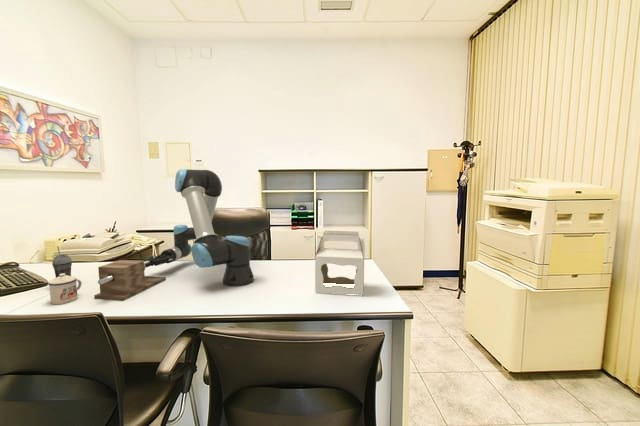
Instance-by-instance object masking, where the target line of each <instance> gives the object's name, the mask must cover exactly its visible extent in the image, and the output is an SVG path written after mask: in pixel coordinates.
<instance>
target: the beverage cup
mask: <svg viewBox="0 0 640 426" xmlns="http://www.w3.org/2000/svg"><path fill="white" fill-rule="evenodd" d="M56 248H57V252H58V255H56V256H55V257H54V258H53V259H52V267H53V271H54V274H55V278H56V277H59V274H62V273H65V275H68V276H72V263H73V260H72V258H71V257H70V256H69V255H67V254H61V251H60V246H59V245H57V246H56Z"/></svg>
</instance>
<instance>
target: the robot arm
mask: <svg viewBox="0 0 640 426" xmlns="http://www.w3.org/2000/svg"><path fill="white" fill-rule="evenodd" d="M174 187H175V192H176V193H180V195H181V196H182V197H181V198H184V199H185V201H186V205H187V209H188V212H189V216H190V220H191V223H192V227H188V225H187V224H177V225H174V227H173V233H172V234H173V245H174V246H173V247H170V248H168V249H165V250H162V252H161V253H159V254H158V255H156V256H154V255H150V256H149V257H147V258H145V259H143V261H144V265H145V269H147V268H149V267H150V266H151V267H153V266H156V267H157V266H161V265H163V264H170V263H174V262H176V261H177V260H180V259H183V258H185V257H188V256H189V255H190V254H191V256H192V260H193V263H195V265H196V266H197V267H199V268H202V269H203V268H211V267H214V266H221V265H225V270H224V273H223V277H222V284H223V285H225V286H229V287H239V286H240V287H241V286H246V285H248V284H251V283H253V282H254V280H255V277H254V273H253V271H252V267H251V265H250V264H251V262H250V261H251V259H250V258H251V257H250V256H251V255H250V251H251V249H250V247H251V246H250V240H249V238H248V237H247V236H241V235H226V236H225V237H224V239H220V236H219V235H218V234H217V233H215V230H214V228H213V224H212V222H213V218H214V215H215V210H216V206H217V204H218V203H217V202H218V200H219V197H220V196H221V194H222V191H223V190H222V189H223V185H222V181H221V178H220V177H219V176H218V174H216V173H215V172H214V171H212V170H210V169H187V168H186V169H185V168H183V169H178V170H177V172H176V175H175V180H174ZM189 241H193V244H192V245H191V244H189Z"/></svg>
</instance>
